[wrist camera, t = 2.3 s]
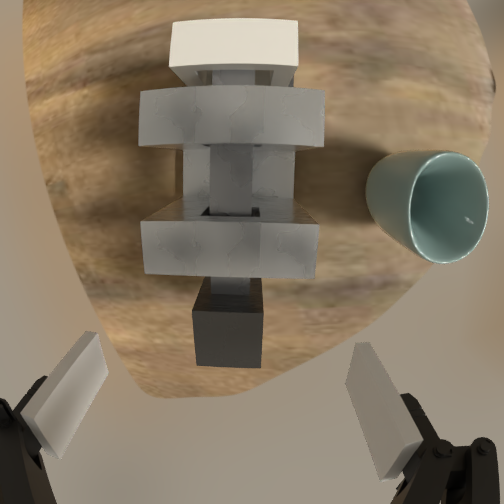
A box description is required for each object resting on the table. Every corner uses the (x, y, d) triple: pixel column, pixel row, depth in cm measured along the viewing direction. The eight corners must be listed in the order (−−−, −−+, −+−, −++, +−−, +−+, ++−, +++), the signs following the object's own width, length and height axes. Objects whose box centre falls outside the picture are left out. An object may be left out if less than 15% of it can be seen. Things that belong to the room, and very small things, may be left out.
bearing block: (186, 111, 23) (141, 82, 13) (294, 112, 24) (324, 81, 13) (186, 233, 27) (145, 282, 16) (289, 235, 27) (313, 287, 16)
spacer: (195, 57, 19) (173, 22, 12) (285, 57, 19) (297, 20, 12) (192, 92, 20) (168, 66, 13) (284, 92, 20) (298, 65, 13)
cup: (354, 233, 27) (402, 272, 17) (352, 149, 24) (404, 146, 15) (423, 227, 27) (484, 260, 17) (423, 150, 24) (490, 154, 15)
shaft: (212, 46, 18) (195, 4, 11) (266, 46, 18) (272, 3, 11) (210, 312, 24) (196, 365, 18) (258, 313, 24) (260, 368, 18)
